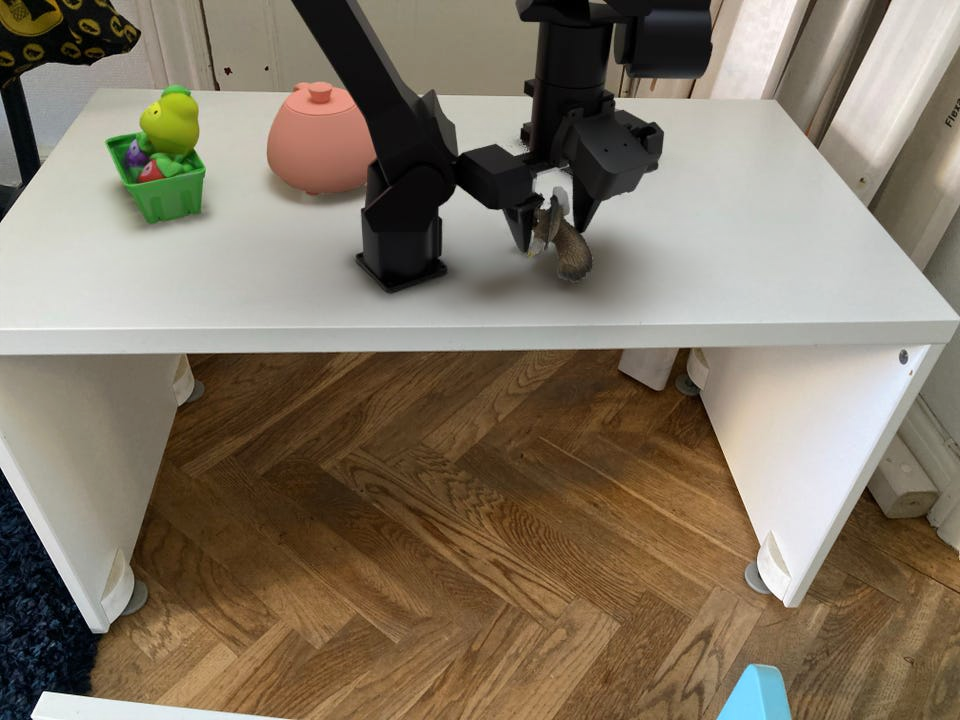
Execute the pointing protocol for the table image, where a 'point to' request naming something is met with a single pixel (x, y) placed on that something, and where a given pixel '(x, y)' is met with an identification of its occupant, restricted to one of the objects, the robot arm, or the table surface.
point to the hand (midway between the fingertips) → (551, 241)
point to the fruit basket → (163, 158)
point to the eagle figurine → (561, 238)
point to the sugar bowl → (320, 140)
